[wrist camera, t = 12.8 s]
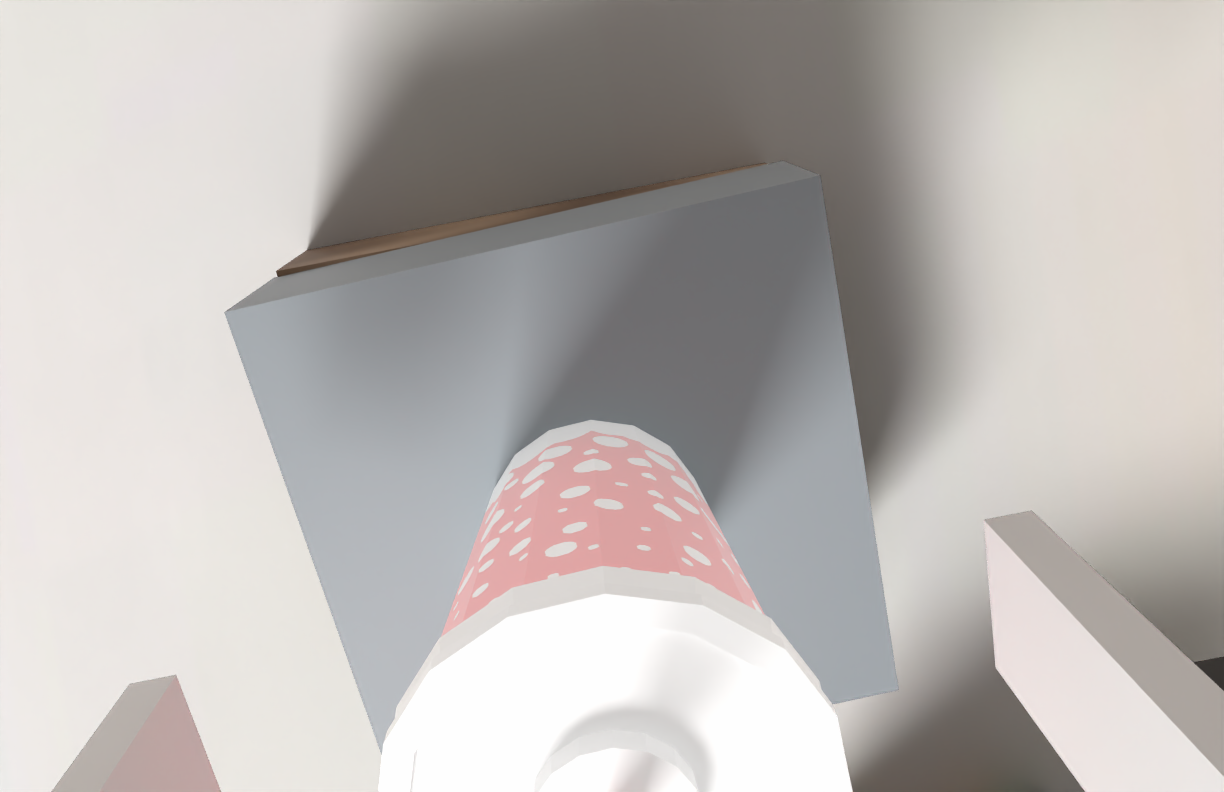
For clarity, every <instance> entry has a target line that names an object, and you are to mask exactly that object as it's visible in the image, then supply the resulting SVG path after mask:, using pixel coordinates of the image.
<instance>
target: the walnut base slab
mask: <svg viewBox="0 0 1224 792" xmlns="http://www.w3.org/2000/svg"><path fill="white" fill-rule="evenodd" d="M766 164H767V163H761V164H756V165H751V166H746V167H740V168H735V169H730V170H725V171H719V172H714V173H709V174H704V175H699V176H693V177H688V178H683V179H678V180H672V181H667V182H662V183H657V184H651V185H646V186H641V187H636V188H631V189H625V190H620V191H615V192H610V193H604V194H599V195H594V196H589V197H583V198H578V199H573V200H568V201H562V202H557V203H552V204H547V205H542V206H536V207H531V208H526V209H521V210H515V211H510V212H505V213H500V214H494V215H489V216H484V217H479V218H473V219H468V220H463V221H458V222H453V223H447V224H442V225H437V226H432V227H426V228H421V229H416V230H411V231H405V232H400V233H395V234H390V235H384V236H379V237H374V238H369V239H364V240H358V241H353V242H348V243H343V244H337V245H332V246H327V247H322V248H316V249H311V250H307V251H305V252H304V253H302V254H301V255H299V256H298V257H296V258H295V259H293V260H292V261H290V262H289V263H287V264H286V265H284V266H283V267H282V268H280V269H279V270H277V271H276V272H277V276H278V277H280V276H285V275H289V274H293V273H298V272H302V271H306V270H311V269H315V268H319V267H324V266H328V265H332V264H337V263H341V262H345V261H350V260H354V259H358V258H363V257H367V256H371V255H376V254H380V253H384V252H389V251H393V250H397V249H402V248H406V247H410V246H415V245H419V244H423V243H428V242H432V241H436V240H441V239H445V238H449V237H454V236H458V235H462V234H467V233H471V232H475V231H480V230H484V229H488V228H493V227H497V226H501V225H506V224H510V223H514V222H519V221H523V220H527V219H532V218H536V217H540V216H545V215H549V214H553V213H558V212H562V211H566V210H571V209H575V208H579V207H584V206H588V205H592V204H597V203H601V202H605V201H610V200H614V199H618V198H623V197H627V196H631V195H636V194H640V193H644V192H649V191H653V190H657V189H662V188H666V187H670V186H675V185H679V184H684V183H688V182H692V181H697V180H701V179H705V178H710V177H714V176H718V175H723V174H727V173H731V172H736V171H740V170H744V169H749V168H753V167H757V166H762V165H766Z"/></svg>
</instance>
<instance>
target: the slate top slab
mask: <svg viewBox="0 0 1224 792" xmlns="http://www.w3.org/2000/svg"><path fill="white" fill-rule="evenodd" d="M224 313H225V315H226V318H227V321H228V324H229V327H230V329H231V332H232V335H233V338H234V341H235V343H236V346H237V349H238V352H239V355H240V358H241V360H242V363H243V366H244V369H245V372H246V374H247V377H248V380H249V383H250V386H251V389H252V391H253V394H254V397H255V400H256V403H257V405H258V408H259V411H260V414H261V417H262V419H263V422H264V425H265V428H266V431H267V434H268V436H269V439H270V442H271V445H272V448H273V450H274V453H275V456H276V459H277V462H278V464H279V467H280V470H281V473H282V476H283V479H284V481H285V484H286V487H287V490H288V493H289V495H290V498H291V501H292V504H293V507H294V510H295V512H296V515H297V518H298V521H299V524H300V526H301V529H302V532H303V535H304V538H305V540H306V543H307V546H308V549H309V552H310V555H311V557H312V560H313V563H314V566H315V569H316V571H317V574H318V577H319V580H320V583H321V585H322V588H323V591H324V594H325V597H326V600H327V602H328V605H329V608H330V611H331V614H332V616H333V619H334V622H335V625H336V628H337V631H338V633H339V636H340V639H341V642H342V645H343V647H344V650H345V653H346V656H347V659H348V661H349V664H350V667H351V670H352V673H353V676H354V678H355V681H356V684H357V687H358V690H359V692H360V695H361V698H362V701H363V704H364V706H365V709H366V712H367V715H368V718H369V721H370V723H371V726H372V729H373V732H374V735H375V737H376V740H377V743H378V746H379V749H380V751H381V754H382V751H383V743H384V740H385V736H386V733H387V730H388V728H389V727H390V725H391V724H392V722H393V720H394V719H395V714H396V707H397V705H398V704H399V702H400V700H401V699H402V697H403V696H404V694H405V692H406V691H407V689H408V688H409V686H410V684H411V683H412V681H413V680H414V678H415V676H416V675H417V673H418V672H419V670H420V668H421V667H422V665H423V663H424V662H425V660H426V659H427V657H428V655H429V654H430V652H431V651H432V649H433V647H434V646H435V644H436V643H437V641H438V639H439V638H440V637H441V635H442V633H443V630H444V627H445V624H446V621H447V619H448V616H449V613H450V610H451V607H452V605H453V602H454V599H455V596H456V593H457V591H458V588H459V585H460V582H461V580H462V577H463V574H464V571H465V568H466V566H467V563H468V560H469V557H470V554H471V552H472V549H473V546H474V543H475V540H476V538H477V535H478V532H479V529H480V526H481V524H482V521H483V518H484V515H485V512H486V510H487V507H488V504H489V501H490V498H491V496H492V493H493V490H494V488H495V486H496V485H497V483H498V481H499V480H500V478H501V477H502V475H503V473H504V472H505V470H506V468H507V467H508V465H509V464H510V462H511V460H512V459H513V457H514V455H515V454H516V453H518V452H519V451H521V450H522V449H523V448H525V447H526V446H528V445H529V444H530V443H532V442H533V441H535V440H536V439H537V438H539V437H540V436H542V435H543V434H544V433H546V432H547V431H549V430H552V429H556V428H560V427H564V426H568V425H572V424H576V423H580V422H584V421H588V420H596V421H603V422H611V423H618V424H626V425H633V426H635V427H637V428H639V429H640V430H642V431H644V432H646V433H648V434H649V435H651V436H653V437H655V438H656V439H658V440H660V441H662V442H663V443H665V444H667V445H669V446H670V447H671V448H672V450H673V451H674V452H675V454H676V455H677V456H678V458H679V459H680V460H681V461H682V463H683V464H684V465H685V467H686V468H687V469H688V471H689V472H690V473H691V475H692V476H693V477H694V479H695V481H696V483H697V485H698V487H699V488H700V490H701V492H702V494H703V496H704V498H705V500H706V502H707V504H708V506H709V508H710V510H711V512H712V514H713V516H714V517H715V519H716V521H717V523H718V525H719V527H720V529H721V531H722V533H723V535H724V537H725V539H726V541H727V543H728V545H729V547H730V548H731V550H732V552H733V554H734V556H735V558H736V560H737V562H738V564H739V566H740V568H741V570H742V572H743V574H744V576H745V577H746V579H747V581H748V583H749V585H750V587H751V589H752V591H753V593H754V595H755V597H756V599H757V601H758V603H759V605H760V606H761V608H762V610H763V612H764V614H765V615H766V616H768V617H770V618H771V619H772V620H773V622H774V623H775V624H776V626H777V627H778V628H779V629H780V631H781V632H782V633H783V635H784V636H785V637H786V638H787V640H788V641H789V642H790V644H791V645H792V646H793V648H794V649H795V650H796V651H797V653H798V654H799V655H800V657H801V658H802V659H803V660H804V662H805V663H806V664H807V666H808V667H809V668H810V669H811V671H812V672H813V673H814V675H815V676H816V677H817V679H818V680H819V681H820V686H821V690H822V691H823V693H824V694H825V695H826V697H827V698H828V699H829V700H830V702H831V703H832V704H836V703H841V702H846V701H850V700H855V699H860V698H864V697H869V696H874V695H878V694H883V693H887V692H892V691H897V690H899V689H898V682H897V676H896V669H895V663H894V656H893V649H892V643H891V636H890V630H889V623H888V617H887V610H886V603H885V597H884V590H883V584H882V577H881V571H880V564H879V557H878V551H877V544H876V538H875V531H874V525H873V518H872V511H871V505H870V498H869V492H868V485H867V479H866V472H865V465H864V459H863V452H862V446H861V439H860V433H859V426H858V419H857V413H856V406H855V400H854V393H853V387H852V380H851V373H850V367H849V360H848V354H847V347H846V340H845V334H844V327H843V321H842V314H841V308H840V301H839V294H838V288H837V281H836V275H835V268H834V262H833V255H832V248H831V242H830V235H829V229H828V222H827V216H826V209H825V202H824V196H823V189H822V183H821V176H820V175H818V174H816V173H813V172H811V171H808V170H806V169H803V168H800V167H798V166H795V165H793V164H790V163H788V162H785V161H779V162H775V163H770V164H766V165H762V166H757V167H753V168H749V169H744V170H740V171H736V172H731V173H727V174H723V175H718V176H714V177H710V178H705V179H701V180H697V181H692V182H688V183H684V184H679V185H675V186H670V187H666V188H662V189H657V190H653V191H649V192H644V193H640V194H636V195H631V196H627V197H623V198H618V199H614V200H610V201H605V202H601V203H597V204H592V205H588V206H584V207H579V208H575V209H571V210H566V211H562V212H558V213H553V214H549V215H545V216H540V217H536V218H532V219H527V220H523V221H519V222H514V223H510V224H506V225H501V226H497V227H493V228H488V229H484V230H480V231H475V232H471V233H467V234H462V235H458V236H454V237H449V238H445V239H441V240H436V241H432V242H428V243H423V244H419V245H415V246H410V247H406V248H402V249H397V250H393V251H389V252H384V253H380V254H376V255H371V256H367V257H363V258H358V259H354V260H350V261H345V262H341V263H337V264H332V265H328V266H324V267H319V268H315V269H311V270H306V271H302V272H298V273H293V274H289V275H285V276H280V277H276V278H273V279H272V280H270V281H269V282H267V283H266V284H265V285H263V286H262V287H260V288H259V289H257V290H256V291H254V292H253V293H252V294H250V295H249V296H247V297H246V298H244V299H243V300H241V301H240V302H239V303H237V304H236V305H234V306H233V307H231V308H230V309H228V310H227V311H226V312H224Z"/></svg>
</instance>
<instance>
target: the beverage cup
mask: <svg viewBox="0 0 1224 792" xmlns="http://www.w3.org/2000/svg"><path fill="white" fill-rule="evenodd" d="M378 792H853V791H852V786H851V781H850V776H849V772H848V767H847V762H846V757H845V752H844V747H843V742H842V737H841V732H840V727H839V722H838V718H837V714H836V712H835V710H834V708H833V705H832V703H831V702H830V700H829V699H828V698H827V697H826V695H825V694H824V693H823V691H822V690H821V686H820V681H819V680H818V679H817V677H816V676H815V675H814V673H813V672H812V671H811V669H810V668H809V667H808V666H807V664H806V663H805V662H804V660H803V659H802V658H801V657H800V655H799V654H798V653H797V651H796V650H795V649H794V648H793V646H792V645H791V644H790V642H789V641H788V640H787V638H786V637H785V636H784V635H783V633H782V632H781V631H780V629H779V628H778V627H777V626H776V624H775V623H774V622H773V620H772V619H771V618H770V617H768V616H766V615H765V614H764V612H763V610H762V608H761V606H760V605H759V603H758V601H757V599H756V597H755V595H754V593H753V591H752V589H751V587H750V585H749V583H748V581H747V579H746V577H745V576H744V574H743V572H742V570H741V568H740V566H739V564H738V562H737V560H736V558H735V556H734V554H733V552H732V550H731V548H730V547H729V545H728V543H727V541H726V539H725V537H724V535H723V533H722V531H721V529H720V527H719V525H718V523H717V521H716V519H715V517H714V516H713V514H712V512H711V510H710V508H709V506H708V504H707V502H706V500H705V498H704V496H703V494H702V492H701V490H700V488H699V487H698V485H697V483H696V481H695V479H694V477H693V476H692V475H691V473H690V472H689V471H688V469H687V468H686V467H685V465H684V464H683V463H682V461H681V460H680V459H679V458H678V456H677V455H676V454H675V452H674V451H673V450H672V448H671V447H670V446H669V445H667V444H665V443H663V442H662V441H660V440H658V439H656V438H655V437H653V436H651V435H649V434H648V433H646V432H644V431H642V430H640V429H639V428H637V427H635V426H633V425H626V424H618V423H611V422H603V421H596V420H588V421H584V422H580V423H576V424H572V425H568V426H564V427H560V428H556V429H552V430H549V431H547V432H546V433H544V434H543V435H542V436H540V437H539V438H537V439H536V440H535V441H533V442H532V443H530V444H529V445H528V446H526V447H525V448H523V449H522V450H521V451H519V452H518V453H516V454H515V455H514V457H513V459H512V460H511V462H510V464H509V465H508V467H507V468H506V470H505V472H504V473H503V475H502V477H501V478H500V480H499V481H498V483H497V485H496V486H495V488H494V490H493V493H492V496H491V498H490V501H489V504H488V507H487V510H486V512H485V515H484V518H483V521H482V524H481V526H480V529H479V532H478V535H477V538H476V540H475V543H474V546H473V549H472V552H471V554H470V557H469V560H468V563H467V566H466V568H465V571H464V574H463V577H462V580H461V582H460V585H459V588H458V591H457V593H456V596H455V599H454V602H453V605H452V607H451V610H450V613H449V616H448V619H447V621H446V624H445V627H444V630H443V633H442V635H441V637H440V638H439V639H438V641H437V643H436V644H435V646H434V647H433V649H432V651H431V652H430V654H429V655H428V657H427V659H426V660H425V662H424V663H423V665H422V667H421V668H420V670H419V672H418V673H417V675H416V676H415V678H414V680H413V681H412V683H411V684H410V686H409V688H408V689H407V691H406V692H405V694H404V696H403V697H402V699H401V700H400V702H399V704H398V705H397V707H396V714H395V719H394V720H393V722H392V724H391V725H390V727H389V728H388V730H387V733H386V736H385V740H384V743H383V751H382V761H381V771H380V780H379V790H378Z"/></svg>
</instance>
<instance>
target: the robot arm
mask: <svg viewBox="0 0 1224 792" xmlns="http://www.w3.org/2000/svg"><path fill="white" fill-rule="evenodd" d="M984 531H985V543H986V555H987V568H988V580H989V592H990V604H991V617H992V629H993V641H994V653H995V666H996V669H997V670H998V672H999V673H1000V674H1001V676H1002V677H1003V678H1004V680H1005V681H1006V683H1007V684H1008V685H1009V687H1010V688H1011V690H1012V691H1013V692H1014V694H1015V695H1016V697H1017V698H1018V699H1019V701H1020V702H1021V703H1022V705H1023V706H1024V708H1025V709H1026V710H1027V712H1028V713H1029V715H1030V716H1031V717H1032V719H1033V720H1034V721H1035V723H1036V724H1037V726H1038V727H1039V728H1040V730H1041V731H1042V733H1043V734H1044V735H1045V737H1046V738H1047V739H1048V741H1049V742H1050V744H1051V745H1052V746H1053V748H1054V749H1055V751H1056V752H1057V753H1058V755H1059V756H1060V758H1061V759H1062V760H1063V762H1064V763H1065V764H1066V766H1067V767H1068V769H1069V770H1070V771H1071V773H1072V774H1073V776H1074V777H1075V778H1076V780H1077V781H1078V782H1079V784H1080V785H1081V787H1082V788H1083V789H1084V791H1085V792H1224V657H1219V658H1214V659H1209V660H1204V661H1198V662H1192V661H1191V660H1190V659H1189V658H1188V657H1187V656H1186V655H1185V654H1184V653H1183V652H1182V651H1181V650H1180V649H1178V648H1177V647H1176V646H1175V645H1174V644H1173V643H1172V642H1171V641H1170V640H1169V639H1168V638H1167V637H1166V636H1165V635H1164V634H1162V633H1161V632H1160V631H1159V630H1158V629H1157V628H1156V627H1155V626H1154V625H1153V624H1152V623H1151V622H1150V621H1149V620H1148V619H1146V618H1145V617H1144V616H1143V615H1142V614H1141V613H1140V612H1139V611H1138V610H1137V609H1136V608H1135V607H1134V606H1133V605H1132V604H1131V603H1129V602H1128V601H1127V600H1126V599H1125V598H1124V597H1123V596H1122V595H1121V594H1120V593H1119V592H1118V591H1117V590H1116V589H1115V588H1113V587H1112V586H1111V585H1110V584H1109V583H1108V582H1107V581H1106V580H1105V579H1104V578H1103V577H1102V576H1101V575H1100V574H1099V573H1097V572H1096V571H1095V570H1094V569H1093V568H1092V567H1091V566H1090V565H1089V564H1088V563H1087V562H1086V561H1085V560H1084V559H1083V558H1082V557H1080V556H1079V555H1078V554H1077V553H1076V552H1075V551H1074V550H1073V549H1072V548H1071V547H1070V546H1069V545H1068V544H1067V543H1066V542H1064V541H1063V540H1062V539H1061V538H1060V537H1059V536H1058V535H1057V534H1056V533H1055V532H1054V531H1053V530H1052V529H1051V528H1050V527H1048V526H1047V525H1046V524H1045V523H1044V522H1043V521H1042V520H1041V519H1040V518H1039V517H1038V516H1037V515H1036V514H1035V513H1034V512H1033V511H1027V512H1022V513H1017V514H1011V515H1006V516H1001V517H996V518H990V519H985V520H984ZM52 792H221V790H220V788H219V785H218V783H217V780H216V777H215V775H214V772H213V770H212V767H211V764H210V762H209V759H208V757H207V754H206V751H205V749H204V746H203V744H202V741H201V739H200V736H199V733H198V731H197V728H196V726H195V723H194V720H193V718H192V715H191V713H190V710H189V707H188V705H187V702H186V700H185V697H184V694H183V692H182V689H181V687H180V684H179V681H178V679H177V676H176V675H173V676H168V677H163V678H158V679H152V680H147V681H142V682H137V683H132V684H129V686H128V687H127V688H126V690H125V691H124V692H123V694H122V695H121V697H120V698H119V699H118V701H117V702H116V703H115V705H114V706H113V708H112V709H111V710H110V712H109V713H108V715H107V716H106V717H105V719H104V720H103V721H102V723H101V724H100V726H99V727H98V728H97V730H96V731H95V732H94V734H93V735H92V737H91V738H90V739H89V741H88V742H87V743H86V745H85V746H84V748H83V749H82V750H81V752H80V753H79V755H78V756H77V757H76V759H75V760H74V761H73V763H72V764H71V766H70V767H69V768H68V770H67V771H66V772H65V774H64V775H63V777H62V778H61V779H60V781H59V782H58V784H57V785H56V786H55V788H54V789H53V790H52Z"/></svg>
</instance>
